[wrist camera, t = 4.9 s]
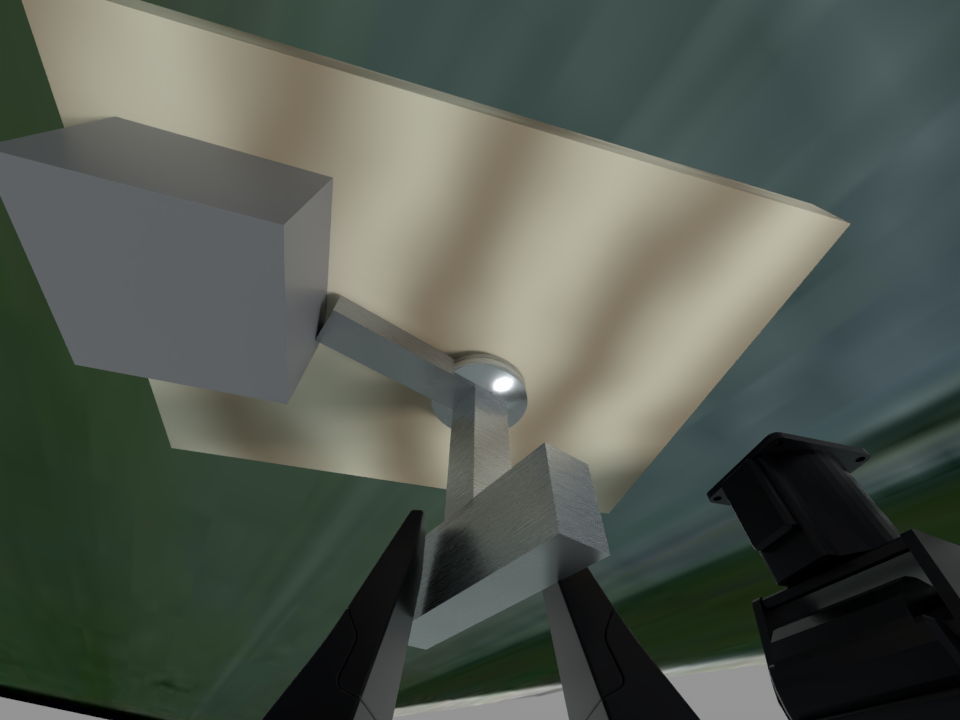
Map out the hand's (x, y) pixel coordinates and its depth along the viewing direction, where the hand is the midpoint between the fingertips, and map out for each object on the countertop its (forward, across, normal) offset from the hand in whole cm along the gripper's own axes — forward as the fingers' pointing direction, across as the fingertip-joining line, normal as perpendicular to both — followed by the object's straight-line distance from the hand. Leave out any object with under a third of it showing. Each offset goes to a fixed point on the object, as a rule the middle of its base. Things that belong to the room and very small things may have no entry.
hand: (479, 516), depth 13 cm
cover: (+6, -8, +6) cm, 12 cm away
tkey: (+6, -2, +1) cm, 6 cm away
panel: (+8, -2, +2) cm, 9 cm away
